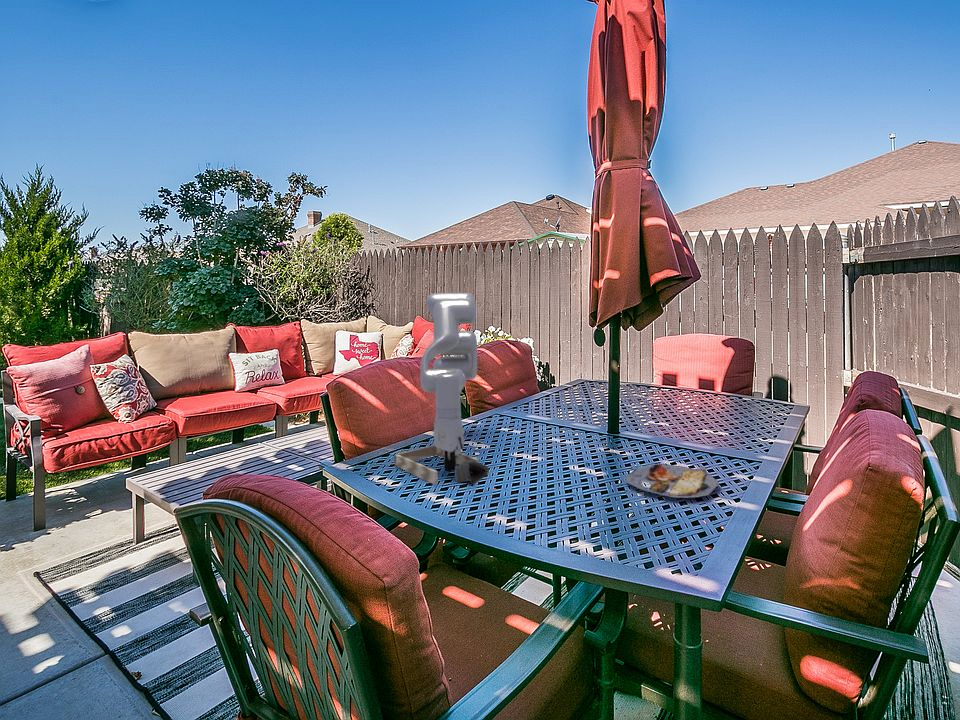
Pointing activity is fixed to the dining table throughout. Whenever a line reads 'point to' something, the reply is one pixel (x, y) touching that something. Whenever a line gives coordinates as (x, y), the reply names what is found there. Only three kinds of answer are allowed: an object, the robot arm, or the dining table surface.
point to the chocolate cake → (471, 472)
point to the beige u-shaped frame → (421, 471)
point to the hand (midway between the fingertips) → (450, 470)
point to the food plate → (665, 475)
